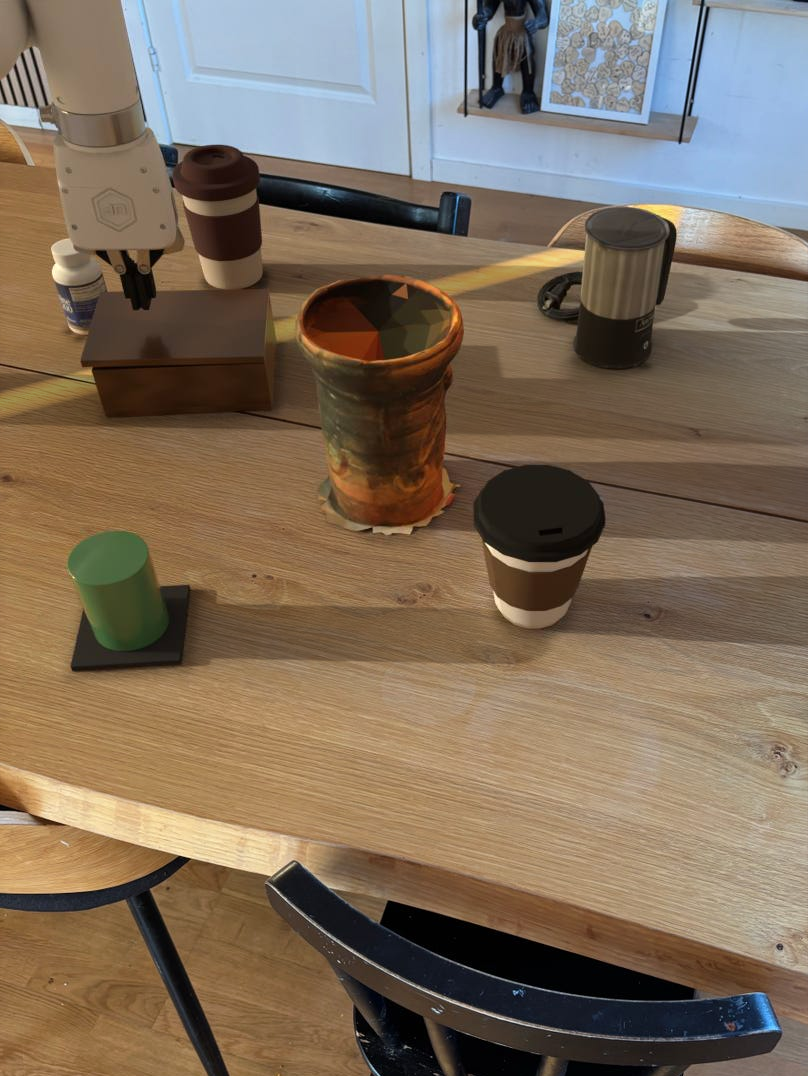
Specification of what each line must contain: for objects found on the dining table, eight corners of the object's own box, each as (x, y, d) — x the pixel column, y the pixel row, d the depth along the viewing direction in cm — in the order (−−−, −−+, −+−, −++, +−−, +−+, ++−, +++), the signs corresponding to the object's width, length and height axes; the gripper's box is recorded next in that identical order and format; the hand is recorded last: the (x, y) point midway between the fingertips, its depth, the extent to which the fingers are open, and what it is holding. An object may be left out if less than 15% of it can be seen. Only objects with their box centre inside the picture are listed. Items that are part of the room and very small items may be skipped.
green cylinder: (88, 654, 85) (60, 587, 80) (99, 599, 90) (73, 532, 84) (165, 649, 86) (143, 582, 80) (173, 595, 90) (152, 528, 84)
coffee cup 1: (221, 305, 124) (197, 182, 112) (179, 274, 129) (153, 153, 117) (289, 279, 128) (273, 158, 117) (246, 249, 133) (227, 130, 122)
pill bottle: (66, 317, 121) (41, 239, 114) (111, 308, 123) (89, 231, 116) (72, 340, 118) (47, 261, 111) (119, 331, 120) (97, 252, 112)
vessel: (436, 558, 95) (431, 374, 80) (294, 526, 97) (264, 343, 82) (480, 465, 104) (484, 285, 89) (350, 439, 107) (333, 259, 92)
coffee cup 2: (608, 640, 88) (624, 538, 79) (485, 658, 87) (488, 556, 78) (574, 554, 95) (586, 452, 86) (460, 570, 94) (460, 468, 85)
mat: (72, 671, 85) (69, 666, 85) (88, 594, 91) (87, 590, 90) (181, 664, 86) (179, 659, 85) (190, 588, 92) (189, 584, 91)
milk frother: (638, 378, 115) (657, 254, 104) (508, 347, 118) (513, 224, 107) (670, 316, 124) (691, 196, 113) (548, 290, 127) (557, 170, 116)
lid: (82, 367, 104) (80, 360, 103) (101, 298, 113) (100, 291, 112) (264, 363, 105) (263, 356, 105) (269, 295, 114) (268, 288, 114)
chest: (105, 417, 108) (91, 370, 104) (122, 347, 117) (110, 301, 113) (272, 410, 110) (264, 363, 105) (276, 341, 119) (269, 295, 114)
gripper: (8, 137, 90) (63, 324, 103) (181, 137, 91) (212, 321, 105) (24, 103, 94) (75, 286, 108) (188, 104, 96) (218, 284, 110)
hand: (142, 303), depth 106 cm, fingers closed
